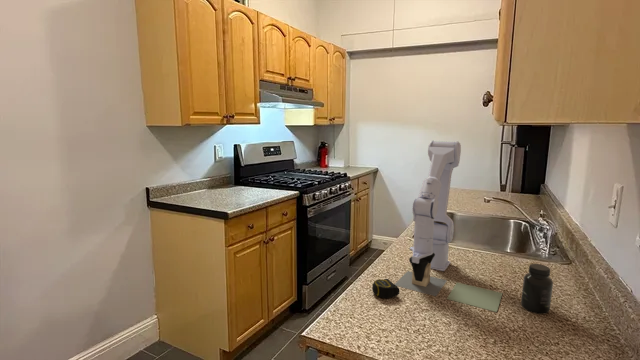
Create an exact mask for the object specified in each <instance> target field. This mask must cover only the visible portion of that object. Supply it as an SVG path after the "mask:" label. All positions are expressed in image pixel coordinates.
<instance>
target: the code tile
mask: <svg viewBox="0 0 640 360" xmlns="http://www.w3.org/2000/svg"><path fill="white" fill-rule="evenodd" d="M446 283H447V279H443V278H440V277H435V276H431V275H430V282H429V283H428V285H427V286H426V287H424V286H420V285H416V284H412V271H410V270H407V271H406V272H405V273H404V274H403V275H402V276H401V277H400V278H399V279H398V280H397V281H396V282H395V283H394V284H395V285H396V286H397V287H398V288H399V287H400V288H403V289H406V290H412V291H415V292H418V293H423V294H425V295H430V296H433V297H437V296H438V295H439V294H440V292H441V290H442V288H443V287H444V286H445V284H446Z"/></svg>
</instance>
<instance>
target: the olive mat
mask: <svg viewBox="0 0 640 360" xmlns="http://www.w3.org/2000/svg"><path fill="white" fill-rule="evenodd" d="M502 297H503V292H499V291H495V290H491V289H487V288H484V287H483V288H482V287H477V286H474V285H470V284H465V283H462V282H458V281H456V283H455V285H454V286H453V288H452V290H451V291H450V293H449V294H448V296H447V298H446V300H449V301H451V302H452V301H453V302H457V303H460V304H465V305H468V306H471V307H476V308H479V309H483V310H486V311H488V312H489V311H490V312H493V313H498V309H499V307H500V303H501V299H502Z"/></svg>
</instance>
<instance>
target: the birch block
mask: <svg viewBox="0 0 640 360" xmlns="http://www.w3.org/2000/svg"><path fill="white" fill-rule="evenodd" d="M431 269H432V268H431V264H430V263H428V264H427V266H426V269H425V272H424V277H423V280H422V282H421V281H417V280H415V277H414V272H413V269H412V271H411V272H412V284H416V285H420V286H424V287H426V286H427V285H428V283H429V282H430V276H431V272H432V271H431Z"/></svg>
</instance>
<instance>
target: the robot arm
mask: <svg viewBox="0 0 640 360" xmlns="http://www.w3.org/2000/svg"><path fill="white" fill-rule="evenodd" d="M461 146H462V145H461V143H460V142H459V140H458V141H440V140H439V141H437V140H431V141H430V142H429V143H428V147H427V155H428V159H429V161H430V167H429V171H428V177H426V178H424V179H423V180H422V185H421V188H420V190H419V194H418V197H417V198H415V199H414V200H413V202H412V215H413V216H412V217H413V219H412V220H413V221H414V227H413V228H414V229H413V230H414V231H413V246H410V247H409V251H412V256H410V257H409V259H408V260H409V263H410V264H411V267H412V270H413V272H414V277H415V280H417V281H421V282H422V280H423V277H424V272H425V269H426V266H427V264H428V263H430V264H431V269H432V270H437V271H442V272H445V271H446V270H447V268H448V267H449V265H450V264H451V261H449V250H450V246H449V245H450V243H451V242H452V241H453V238H454V233H455V231H454V230H455V229H454V221H453V219H452V218H451V217H450V216H449V215H448V214H447V213H448V206H449V198H450V197H449V196H450V190H451V182H452V174H453V171H454V168H457V167H459V164H460V160H461V154H462V153H461V151H462V147H461Z"/></svg>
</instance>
